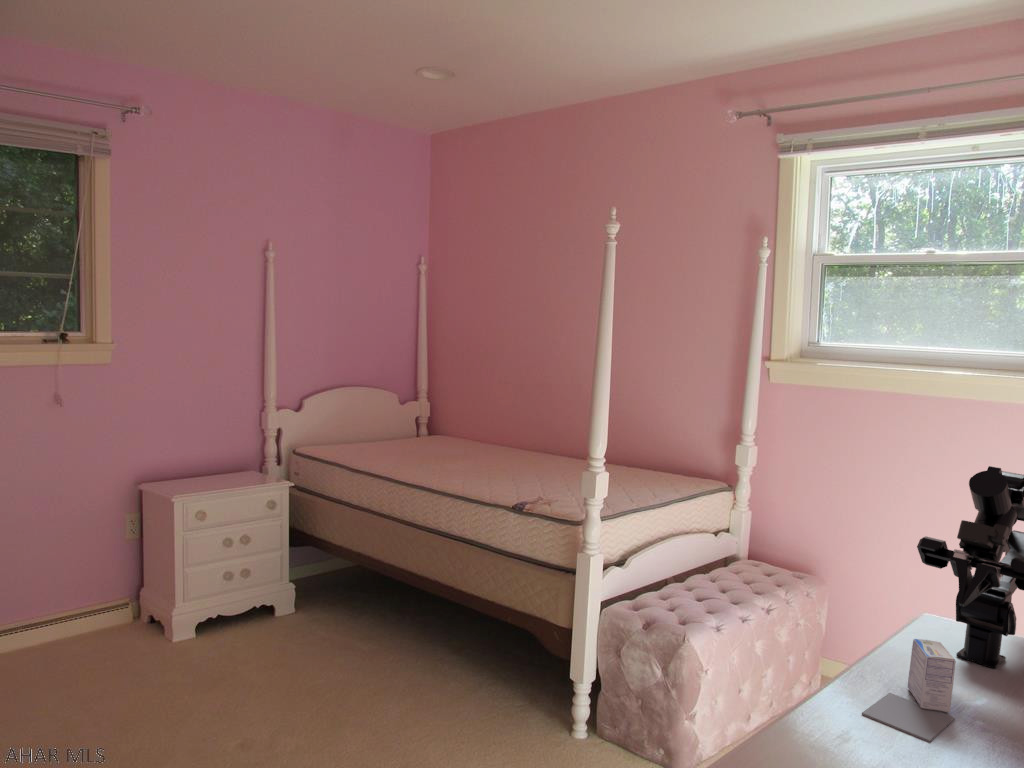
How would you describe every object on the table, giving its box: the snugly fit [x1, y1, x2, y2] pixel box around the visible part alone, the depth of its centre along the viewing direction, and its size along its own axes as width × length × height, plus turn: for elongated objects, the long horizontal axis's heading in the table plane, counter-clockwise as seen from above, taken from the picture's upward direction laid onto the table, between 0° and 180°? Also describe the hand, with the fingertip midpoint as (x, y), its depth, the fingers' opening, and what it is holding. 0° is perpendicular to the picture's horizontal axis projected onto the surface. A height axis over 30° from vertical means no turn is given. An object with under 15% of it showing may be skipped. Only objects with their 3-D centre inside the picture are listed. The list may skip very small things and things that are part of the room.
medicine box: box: [907, 638, 957, 714], centre depth 133 cm, size 8×4×9 cm, turn 169°
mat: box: [861, 692, 956, 743], centre depth 128 cm, size 10×10×1 cm
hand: (961, 604), depth 140 cm, fingers closed
